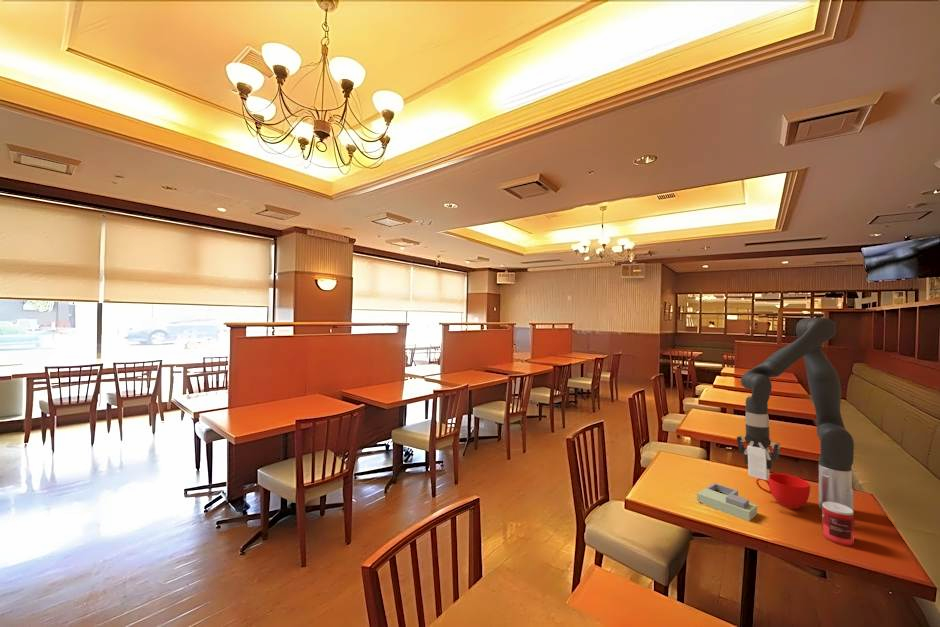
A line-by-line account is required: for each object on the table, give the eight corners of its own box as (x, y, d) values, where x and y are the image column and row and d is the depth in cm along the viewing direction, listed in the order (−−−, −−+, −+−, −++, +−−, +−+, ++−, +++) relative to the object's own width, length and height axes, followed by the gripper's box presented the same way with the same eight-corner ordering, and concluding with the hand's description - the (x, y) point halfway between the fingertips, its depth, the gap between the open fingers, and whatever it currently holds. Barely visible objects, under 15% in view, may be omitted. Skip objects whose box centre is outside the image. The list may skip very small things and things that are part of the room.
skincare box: (769, 477, 150) (768, 447, 150) (766, 480, 147) (765, 449, 147) (751, 472, 155) (750, 443, 155) (748, 475, 152) (747, 445, 152)
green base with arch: (765, 507, 151) (765, 493, 151) (749, 521, 141) (749, 506, 141) (714, 489, 166) (714, 477, 166) (695, 501, 156) (695, 488, 156)
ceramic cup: (754, 492, 164) (754, 468, 164) (805, 502, 155) (805, 477, 155) (758, 505, 153) (758, 480, 153) (814, 516, 144) (814, 490, 144)
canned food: (836, 532, 134) (836, 501, 134) (861, 546, 126) (860, 513, 126) (815, 532, 133) (815, 501, 133) (838, 546, 125) (838, 513, 125)
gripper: (782, 425, 148) (784, 469, 147) (739, 418, 159) (740, 458, 159) (776, 429, 143) (778, 474, 143) (732, 421, 155) (733, 463, 154)
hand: (758, 466), depth 151 cm, fingers closed on skincare box, 6 cm apart
